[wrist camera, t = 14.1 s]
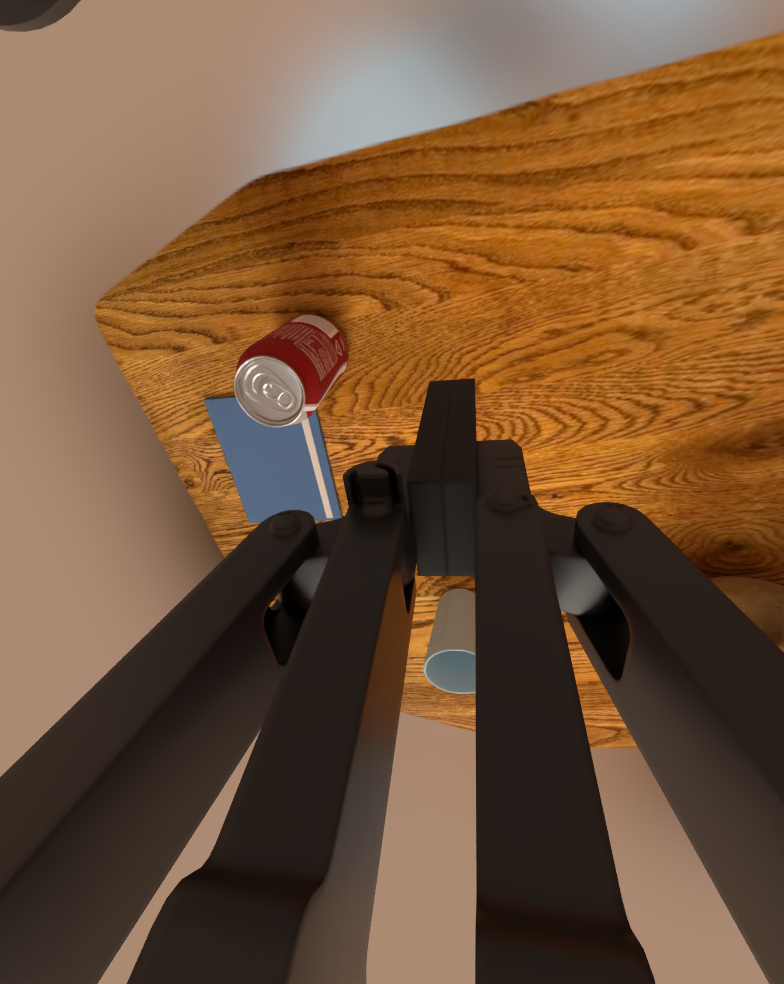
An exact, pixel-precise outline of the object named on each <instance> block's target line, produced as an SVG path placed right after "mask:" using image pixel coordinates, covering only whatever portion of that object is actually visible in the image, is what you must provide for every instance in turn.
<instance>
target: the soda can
mask: <svg viewBox="0 0 784 984" xmlns="http://www.w3.org/2000/svg"><path fill="white" fill-rule="evenodd" d="M347 363H348V348H347V344H346V341H345V338H344V336H343V335H342V333H341V332H340V330H339V329H338V328H337V327H336V326H335V325H334V324H333V323H332V322H331V321H329V320H327V319H326V318H324V317H321V316H318V315H313V314H305V315H300V316H298V317H295V318H293V319H292V320H290V321H289V322H287V323H286V324H284V325H282V326H281V327H279V328H278V329H276V330H275V331H273V332H272V333H270V334H268V335H267V336H265V337H264V338H262V339H261V340H259V341H258V342H256V343H254V344H253V345H251V346H250V347H249V348H247V349H246V350H245V351H244V353H243V354H242V355H241V357H240V359H239V361H238V364H237V368H236V373H235V377H234V384H233V385H234V393H235V396H236V399H237V401H238V403H239V405H240V406H241V408H242V409H243V411H244V412H245V413H246V414H247V415H248V416H249V417H251V418H252V419H253V420H255V421H256V422H258V423H260V424H263V425H265V426H269V427H283V426H287V425H294V424H297V423H300V422H302V421H304V420H306V419H307V418H308V417H309V416H311V415H312V413H313V412H314V411H315V410H316V408H317V407H318V406H319V404H320V403H321V402H322V400H323V399H324V398H325V397H326V395H327V394H328V393H329V391H330V390H331V389H332V387H333V386H334V385H335V383H336V382H337V381H338V380H339V378H340V377H341V376H342V374H343V373H344V371H345V369H346V366H347Z"/></svg>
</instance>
